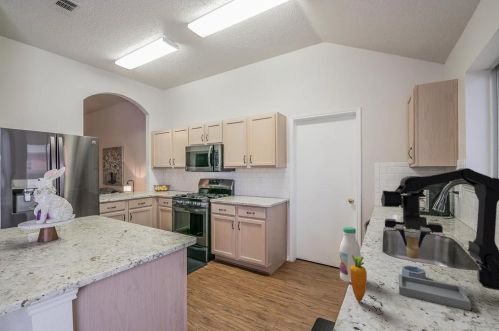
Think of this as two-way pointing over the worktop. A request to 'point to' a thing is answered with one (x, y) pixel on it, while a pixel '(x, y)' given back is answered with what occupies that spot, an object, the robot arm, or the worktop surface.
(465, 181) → the robot arm
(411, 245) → the wooden pin
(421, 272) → the blue-grey socket block
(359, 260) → the carrot
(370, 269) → the worktop surface
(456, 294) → the tray
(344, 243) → the milk bottle
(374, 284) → the worktop surface
